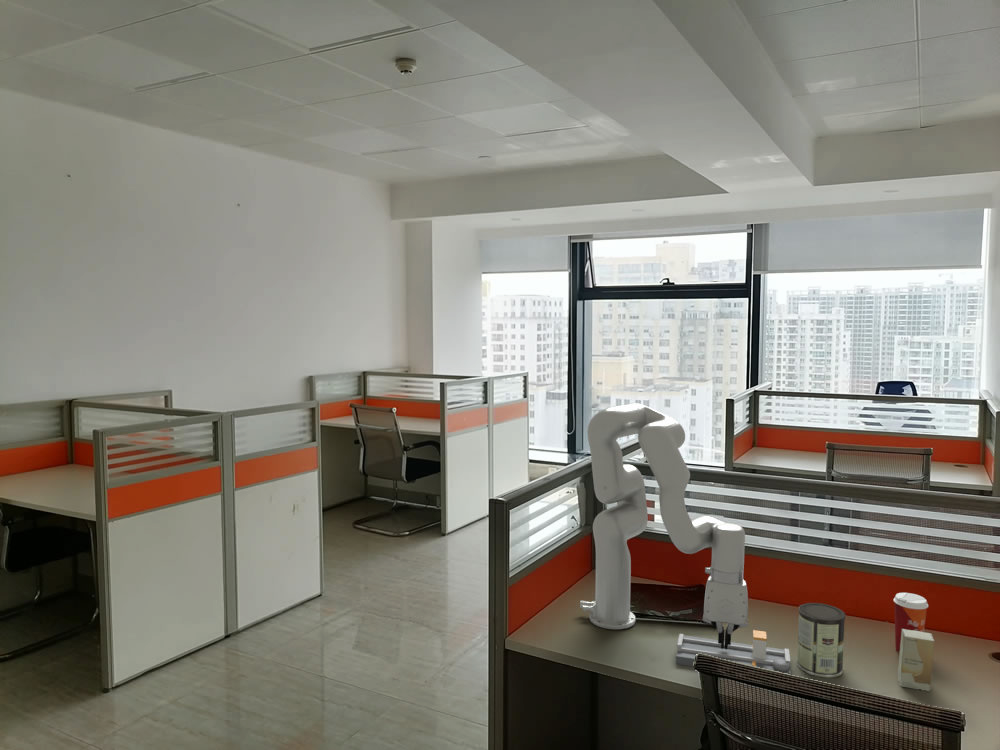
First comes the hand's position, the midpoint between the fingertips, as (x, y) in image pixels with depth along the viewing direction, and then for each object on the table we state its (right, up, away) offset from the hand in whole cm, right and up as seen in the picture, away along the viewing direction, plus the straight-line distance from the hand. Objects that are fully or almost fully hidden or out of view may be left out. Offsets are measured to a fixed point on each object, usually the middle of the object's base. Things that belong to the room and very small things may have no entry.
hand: (724, 646), depth 181 cm
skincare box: (+40, -5, -12) cm, 42 cm away
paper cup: (+48, -3, +5) cm, 48 cm away
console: (+2, -3, 0) cm, 4 cm away
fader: (+8, -1, -3) cm, 8 cm away
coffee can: (+22, -4, -4) cm, 22 cm away
